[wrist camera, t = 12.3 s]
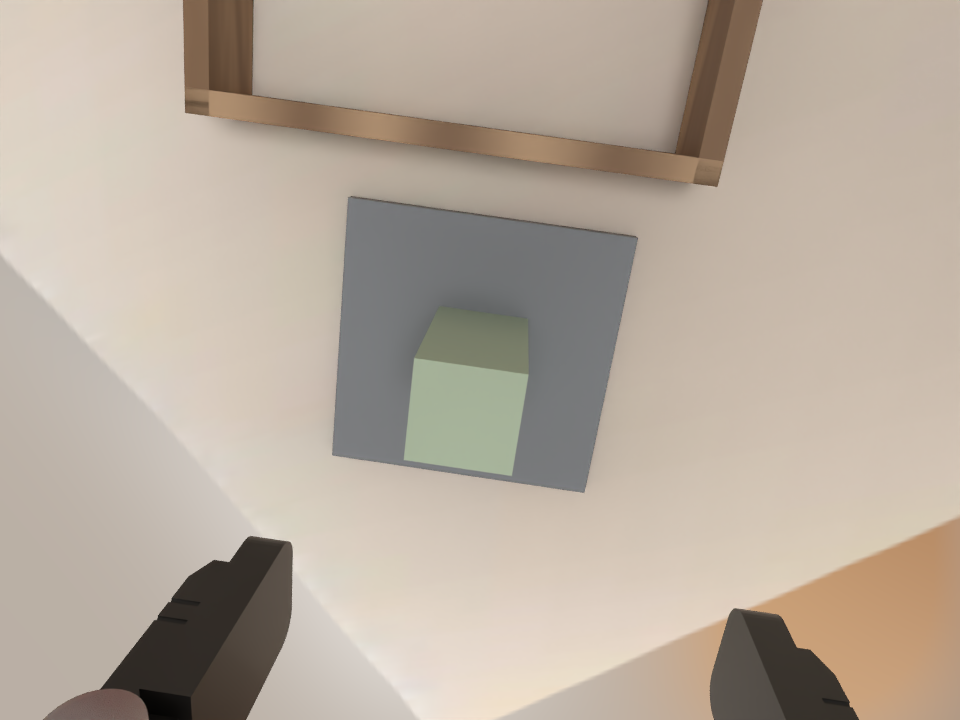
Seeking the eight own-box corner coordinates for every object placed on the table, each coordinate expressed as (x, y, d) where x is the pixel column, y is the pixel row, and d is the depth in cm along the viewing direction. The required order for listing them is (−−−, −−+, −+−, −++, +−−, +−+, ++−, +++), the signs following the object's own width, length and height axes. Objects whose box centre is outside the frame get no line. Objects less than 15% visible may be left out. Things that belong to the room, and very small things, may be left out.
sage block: (528, 318, 33) (528, 374, 26) (514, 400, 35) (511, 475, 27) (439, 306, 33) (414, 358, 26) (430, 388, 35) (403, 459, 27)
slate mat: (635, 236, 32) (637, 238, 32) (583, 487, 37) (584, 492, 36) (351, 196, 33) (348, 197, 32) (335, 450, 37) (332, 455, 37)
